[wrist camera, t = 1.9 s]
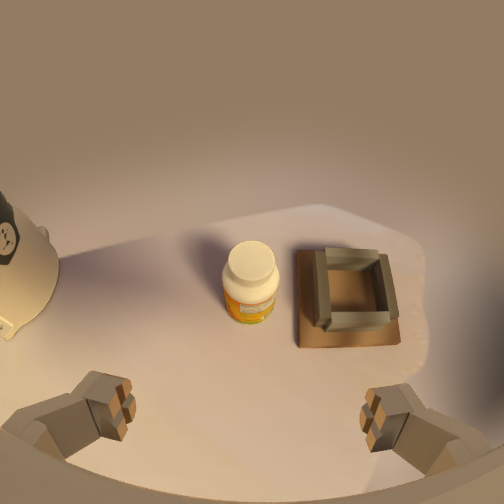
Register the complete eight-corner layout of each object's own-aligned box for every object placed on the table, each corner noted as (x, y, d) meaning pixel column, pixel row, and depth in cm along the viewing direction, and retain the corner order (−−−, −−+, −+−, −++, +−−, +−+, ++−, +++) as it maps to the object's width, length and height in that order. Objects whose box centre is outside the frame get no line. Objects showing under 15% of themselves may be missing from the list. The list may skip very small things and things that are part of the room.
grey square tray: (298, 347, 30) (305, 337, 27) (296, 254, 37) (301, 235, 33) (396, 344, 30) (413, 333, 27) (382, 258, 37) (394, 240, 33)
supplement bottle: (224, 284, 34) (218, 235, 26) (270, 281, 34) (278, 231, 26) (227, 328, 31) (220, 290, 23) (276, 324, 32) (287, 285, 23)
